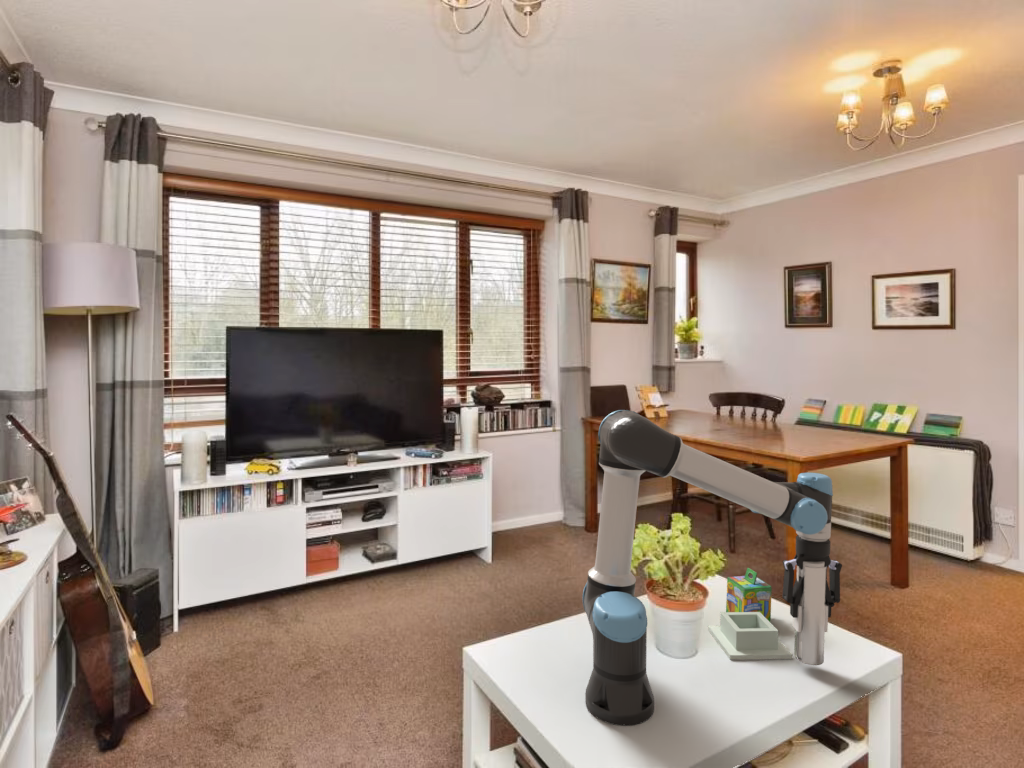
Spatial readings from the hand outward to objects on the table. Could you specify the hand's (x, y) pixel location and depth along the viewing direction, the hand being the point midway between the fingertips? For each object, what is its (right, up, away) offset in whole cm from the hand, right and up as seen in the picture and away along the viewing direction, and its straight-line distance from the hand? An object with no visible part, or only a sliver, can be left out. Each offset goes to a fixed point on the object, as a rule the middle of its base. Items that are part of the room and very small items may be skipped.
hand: (809, 629), depth 142 cm
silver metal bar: (0, -8, 0) cm, 8 cm away
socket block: (-10, -10, +13) cm, 19 cm away
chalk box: (-4, -9, +27) cm, 29 cm away
